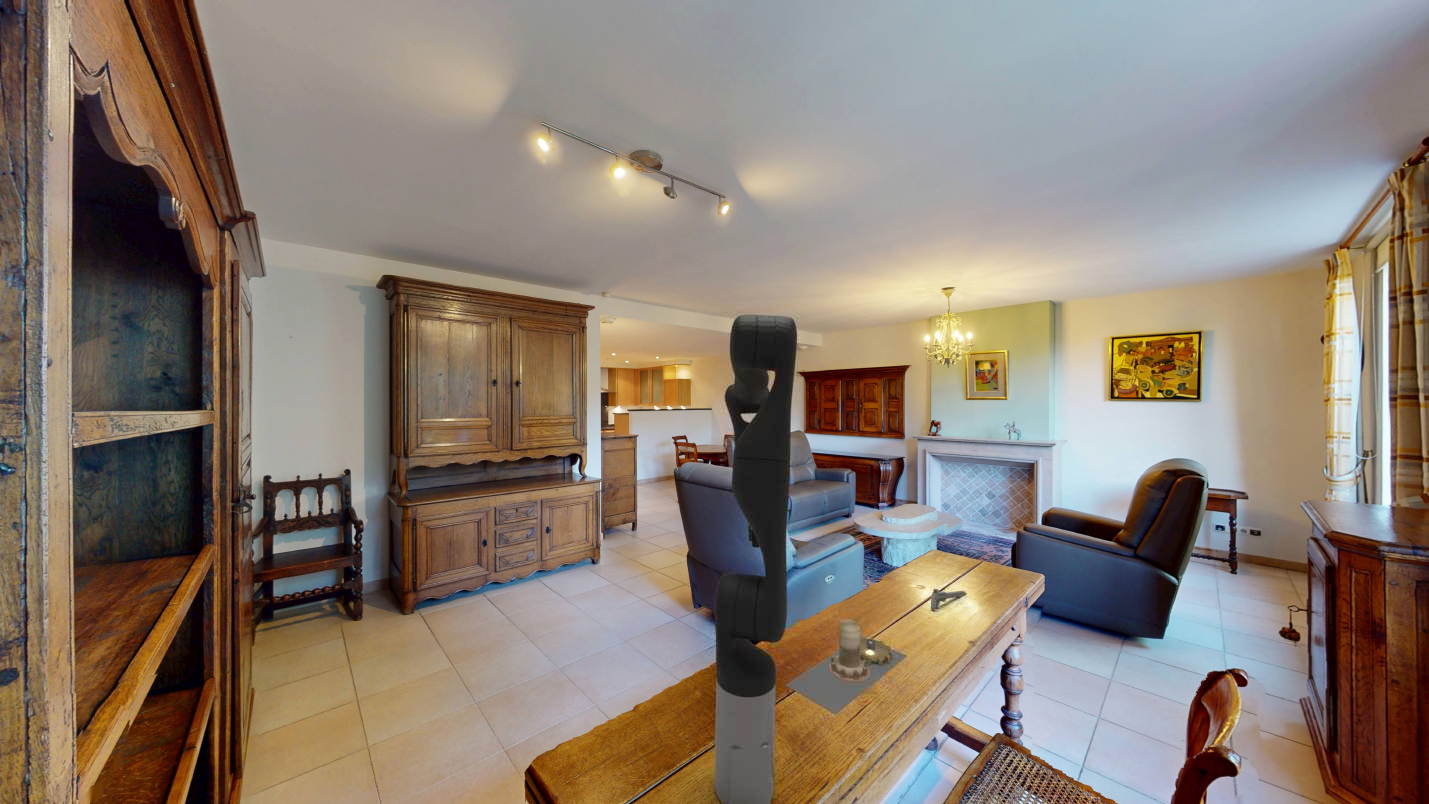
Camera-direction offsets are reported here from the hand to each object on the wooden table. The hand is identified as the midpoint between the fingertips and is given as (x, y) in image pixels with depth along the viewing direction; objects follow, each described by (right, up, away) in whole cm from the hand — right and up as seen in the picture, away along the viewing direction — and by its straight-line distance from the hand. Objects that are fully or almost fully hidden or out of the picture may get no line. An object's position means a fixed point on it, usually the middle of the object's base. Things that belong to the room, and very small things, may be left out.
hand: (755, 543), depth 105 cm
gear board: (+21, -29, -1) cm, 35 cm away
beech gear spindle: (+20, -27, -1) cm, 34 cm away
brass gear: (+27, -27, +5) cm, 39 cm away
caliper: (+62, -29, +37) cm, 78 cm away
